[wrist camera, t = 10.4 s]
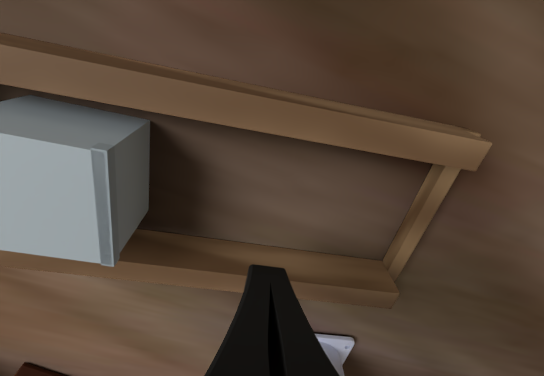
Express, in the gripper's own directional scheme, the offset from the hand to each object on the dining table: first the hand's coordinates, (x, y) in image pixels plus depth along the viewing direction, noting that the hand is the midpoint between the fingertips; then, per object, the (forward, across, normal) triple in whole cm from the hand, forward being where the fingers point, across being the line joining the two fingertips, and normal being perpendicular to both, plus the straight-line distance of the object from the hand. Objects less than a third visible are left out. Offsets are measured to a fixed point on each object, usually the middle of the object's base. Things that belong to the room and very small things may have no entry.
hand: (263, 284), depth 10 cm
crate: (+8, +10, 0) cm, 13 cm away
